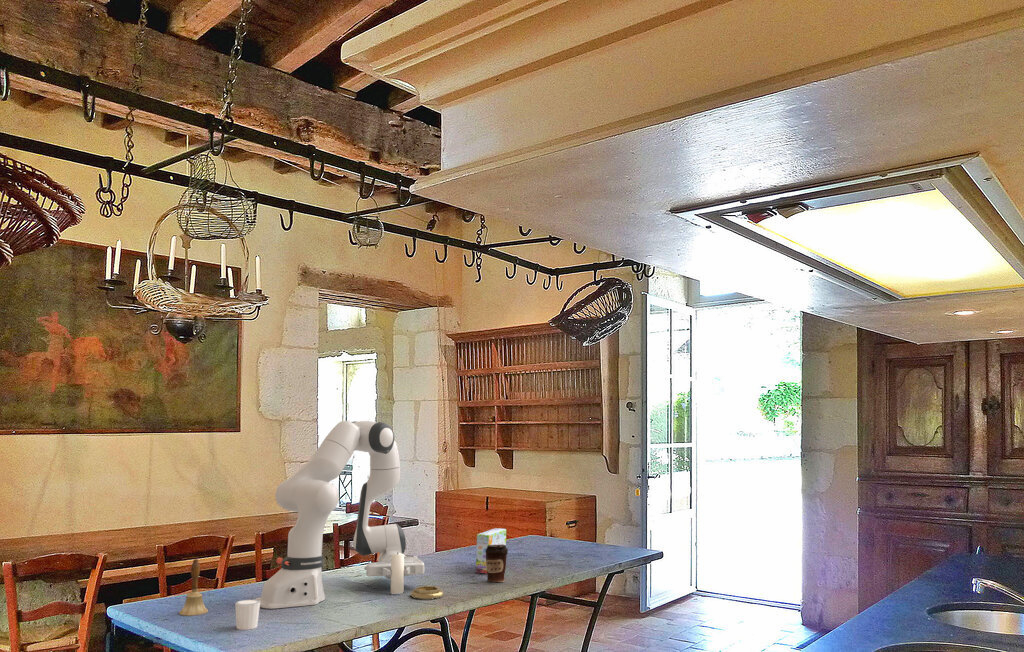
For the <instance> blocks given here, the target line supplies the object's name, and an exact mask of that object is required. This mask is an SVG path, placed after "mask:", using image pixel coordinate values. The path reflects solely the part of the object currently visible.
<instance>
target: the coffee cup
mask: <svg viewBox="0 0 1024 652" xmlns="http://www.w3.org/2000/svg"><path fill="white" fill-rule="evenodd" d="M485 552H486V566H487V574H486V575H487V578H486V579H487V582H491V583H505V582H506V579H505V573H506V569H507V556H508V552H509V549H508V548H507V544H506V545H488V546H487V548H486V550H485Z"/></svg>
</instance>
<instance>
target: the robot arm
mask: <svg viewBox="0 0 1024 652" xmlns="http://www.w3.org/2000/svg"><path fill="white" fill-rule="evenodd" d="M355 451H358V452H363V453H368V454H369V456H370V458H369V468H370V471H369V477H368V479H367V480H366V482H365V483H363V484H362V486H361V491H360V497H359V500H358V501H359V503H358V510H357V519H356V527H355V532H354V535H353V547H354V548H353V549H354V551H355V552H356V553H357V554H358V555H361V556H363V557H364V556H369V555H373V554H379V555H378V558H377V562H368V563H367V564H366V566H364V568H363V569H364V571H366V576H367V577H385V578H387V579H390V580H391V554H396V553H397V552H398V553H401V554H404V553H405V551H406V546H407V545H406V544H407V542H406V536H405V535H406V534H405V531H404V530H403V528H402V527H401V526H400V525H399V524H398V523H391V524H384V525H375V526H369V520H370V519H369V518H370V510H371V506H372V503H373V502H374V501H375V500H377V498H379V497H381V496H383V495H385V494H387V493H389V492H391V491H393V489H395V488H396V487H397V486H398V484H399V483H400V480H401V461H400V460H401V459H400V454H399V453H400V452H399V449H398V445H397V442H396V441H395V433H394V430H393V428H392V426H391V425H390V424H388V423H385V422H383V421H382V422H381V421H380V422H376V421H369V420H363V421H362V420H360V421H349V420H342V421H340V422H338V423H337V424H336V425H335V426H334V427H333V428H332V429H331V430H330V431H329V433H327V435H326V436H325V438H324V439H323V441H321V444H320V445H319V447H318V448H317V450H316V451H315V453H314V454H313V456H312V457H311V458H310V460H309V461H308V462H306V464H304V466H302V468H300V469H299V470H298V471H297V472H296V473H295V474H293V475H292V476H290V477H289V478H288V479H286V480H284V481H282V482H281V483H280V484H279V485H278V486H277V488H276V490H275V501H276V504H278V506H279V507H281V508H282V509H285V510H286V511H289V512H292V513H293V512H295V513H298V517H297V520H296V522H295V524H294V526H292V527H291V529H290V530H289V531H288V535H287V536H288V537H287V555H286V556H285V557H284V558H283V557H280V556H279V557H277V558H276V561H275V562H276V564H278V565H281V568H280V569H279V570H278V571H277V572H275V574H273V575H272V576H271V577H270V578H269V579H267V580H266V581H265V582H264V584H263V586H262V590H261V596H260V597H256V598H254V600H259V601H260V608H263V609H270V610H271V609H272V610H274V609H281V608H283V609H285V608H293V607H302V606H303V607H304V606H306V607H307V606H314V605H315V606H316V605H318V604H319V603H320V602H322V601H324V600H326V594H325V592H324V584H323V573H322V572H323V569H324V554H322V553H323V537H324V536H323V535H324V529H325V526H326V522H327V520H328V518H329V516H330V514H331V513H332V512H333V511H334V510H335V509H336V508H337V506H338V504H339V500H340V494H339V490H338V488H337V486H335V484H332V483H330V482H332V481H333V480H335V479H337V478H338V477H339V476H340V475H341V473H342V472H343V470H344V469H345V467H346V465H347V464H348V462H349V460H350V458H351V457H352V456H353V454H354V452H355ZM424 574H425V563H424V561H422V560H421V559H419V558H418V556H417V555H408V554H404V577H407V576H415V575H424Z"/></svg>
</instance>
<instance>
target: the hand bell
mask: <svg viewBox="0 0 1024 652" xmlns="http://www.w3.org/2000/svg"><path fill="white" fill-rule="evenodd" d="M199 562H200V561H199V559H198V558H195V559H193V561H192V564H191V568H190V576H191V581H192V582H191V583H192V584H191V586H192V587H191V592H189V593H188V594H187V595H186V599H185V603H184V605H183V607H182V608H181V610H180V611H179V613H178V614H179V615H180V616H183V617H195V616H201V615H205V614H208V612H209V610H208V608H206V605H205V604H204V599H203V593H200V592H199V590H198V589H199V587H198V586H199V585H198V584H199V578H200V573H201V565H200V563H199Z"/></svg>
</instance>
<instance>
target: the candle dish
mask: <svg viewBox="0 0 1024 652" xmlns="http://www.w3.org/2000/svg"><path fill="white" fill-rule="evenodd" d="M441 588H442V587H439V586H435V585H434V586H433V585H422V586H416V587H415V588H414V589H413V590H411V591H410V597H411V596H412V597H415V598H419V599H418V600H420V599H432V598H438V597H442V596H443V595H445V593H444V592H445V591H444V590H443V589H441ZM412 597H411V598H412ZM443 597H444V596H443ZM443 597H442V598H443ZM432 600H433V599H432Z"/></svg>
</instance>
